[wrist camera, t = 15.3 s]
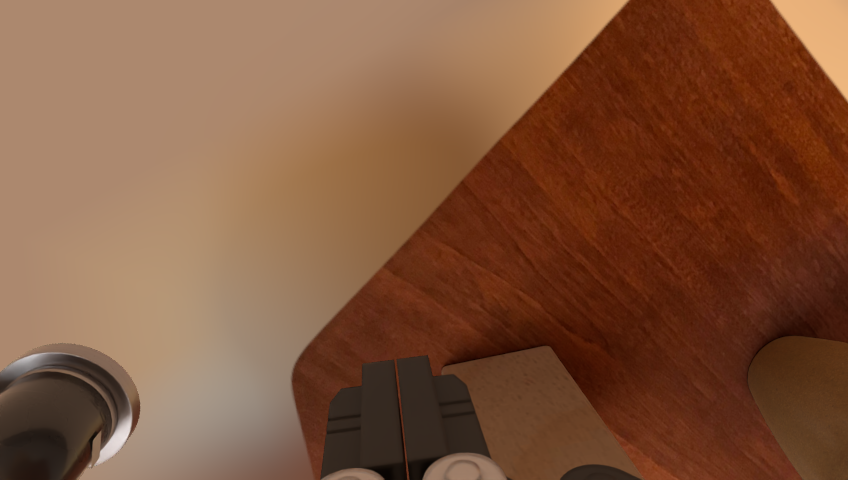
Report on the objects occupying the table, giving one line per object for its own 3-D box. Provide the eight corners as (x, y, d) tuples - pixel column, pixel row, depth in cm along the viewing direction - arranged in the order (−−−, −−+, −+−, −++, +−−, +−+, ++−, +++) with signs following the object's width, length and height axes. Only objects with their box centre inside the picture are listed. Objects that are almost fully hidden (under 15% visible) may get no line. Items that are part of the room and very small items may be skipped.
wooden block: (549, 342, 47) (672, 513, 28) (560, 436, 50) (679, 651, 31) (439, 365, 47) (488, 554, 28) (456, 459, 50) (511, 690, 30)
